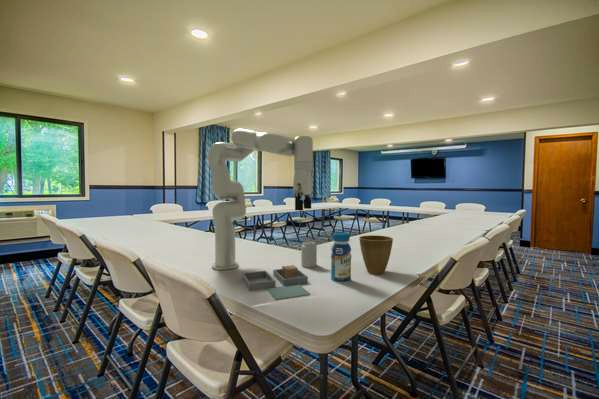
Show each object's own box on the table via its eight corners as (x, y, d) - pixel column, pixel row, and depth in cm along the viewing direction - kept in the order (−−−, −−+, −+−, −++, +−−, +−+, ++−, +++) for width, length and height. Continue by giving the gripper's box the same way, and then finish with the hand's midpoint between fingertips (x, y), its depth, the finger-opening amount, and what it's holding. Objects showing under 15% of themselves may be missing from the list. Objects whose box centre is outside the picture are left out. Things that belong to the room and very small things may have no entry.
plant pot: (394, 269, 134) (394, 236, 133) (390, 279, 120) (390, 241, 119) (362, 266, 140) (363, 234, 139) (355, 274, 126) (355, 238, 126)
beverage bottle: (339, 276, 123) (339, 230, 123) (355, 280, 117) (355, 233, 117) (326, 280, 118) (326, 233, 117) (342, 285, 112) (343, 235, 111)
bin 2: (273, 276, 123) (273, 269, 123) (295, 274, 127) (295, 267, 127) (283, 287, 110) (283, 279, 110) (307, 284, 113) (307, 276, 113)
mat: (266, 290, 106) (266, 288, 106) (299, 286, 111) (299, 284, 111) (275, 301, 96) (275, 299, 96) (310, 296, 101) (310, 293, 101)
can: (315, 269, 134) (315, 244, 133) (299, 268, 135) (300, 243, 135) (317, 265, 141) (317, 241, 141) (302, 264, 143) (302, 240, 142)
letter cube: (282, 277, 120) (282, 266, 119) (293, 276, 121) (293, 264, 121) (286, 281, 115) (286, 269, 115) (297, 280, 117) (297, 267, 117)
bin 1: (242, 280, 118) (242, 273, 118) (265, 277, 122) (265, 270, 122) (249, 291, 105) (248, 284, 105) (275, 288, 109) (275, 280, 108)
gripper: (302, 168, 124) (302, 207, 125) (286, 166, 108) (286, 210, 109) (318, 168, 121) (318, 208, 122) (304, 165, 105) (304, 211, 106)
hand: (303, 209), depth 115 cm, fingers open, 9 cm apart
